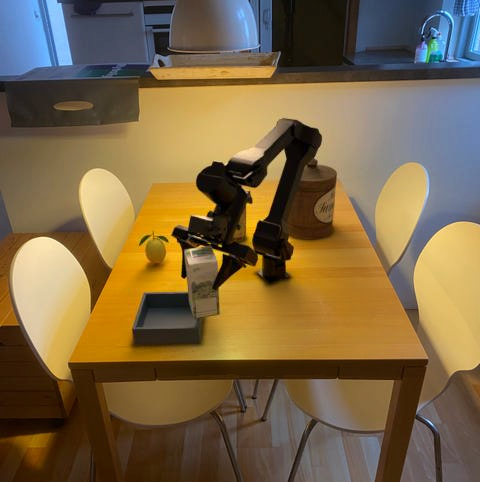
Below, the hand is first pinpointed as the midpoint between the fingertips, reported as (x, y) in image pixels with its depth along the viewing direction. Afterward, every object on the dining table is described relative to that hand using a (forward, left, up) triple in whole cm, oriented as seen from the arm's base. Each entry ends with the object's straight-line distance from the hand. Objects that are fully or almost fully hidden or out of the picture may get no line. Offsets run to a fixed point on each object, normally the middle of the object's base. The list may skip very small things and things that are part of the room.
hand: (198, 283), depth 96 cm
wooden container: (-31, +51, -13) cm, 61 cm away
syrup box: (-2, +2, -8) cm, 8 cm away
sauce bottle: (-37, +29, -13) cm, 49 cm away
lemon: (-35, +3, -13) cm, 38 cm away
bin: (-7, -4, -13) cm, 16 cm away
